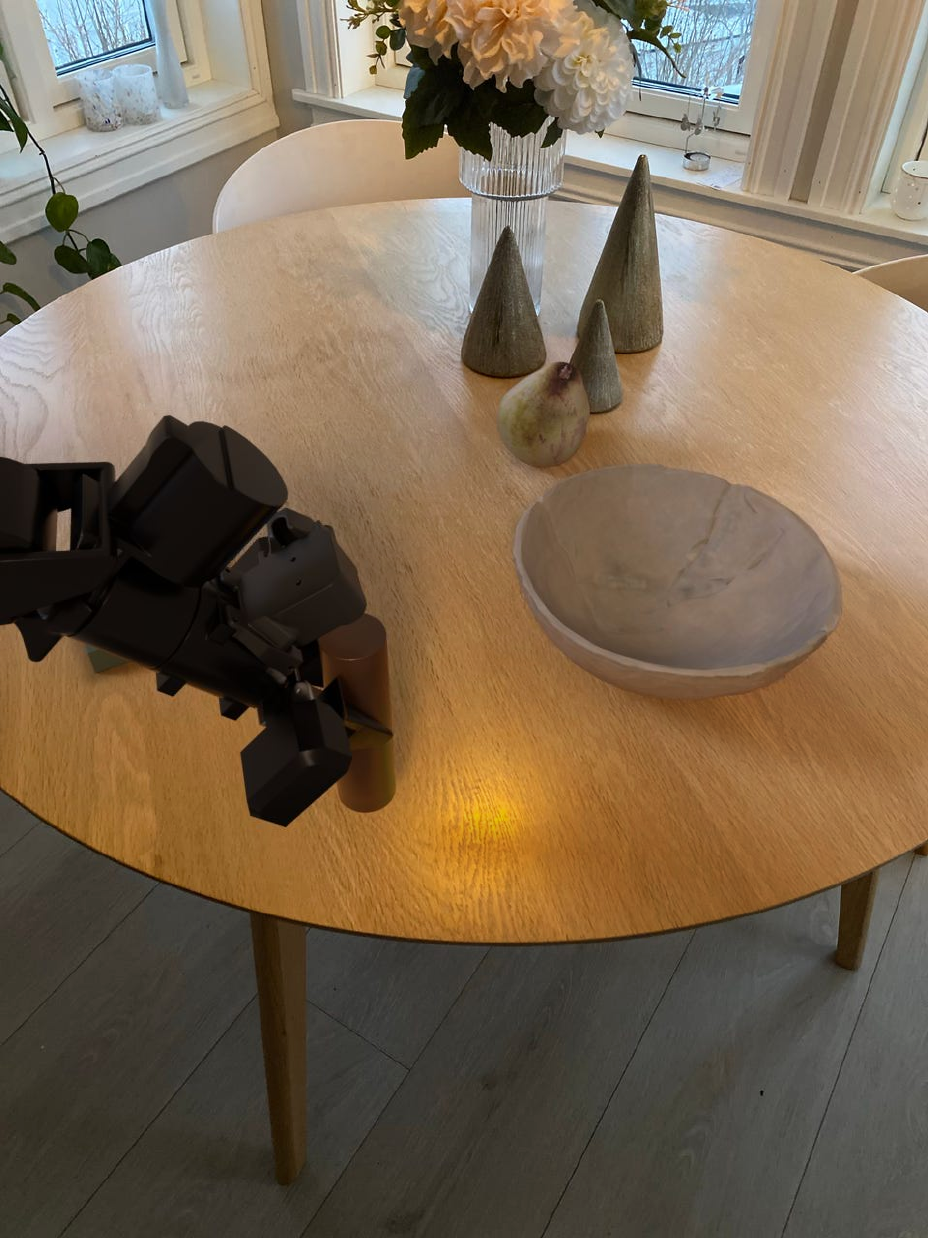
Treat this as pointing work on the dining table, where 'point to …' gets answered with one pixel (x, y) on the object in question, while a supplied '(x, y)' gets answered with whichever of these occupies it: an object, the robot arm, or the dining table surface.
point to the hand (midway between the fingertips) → (381, 713)
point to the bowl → (675, 581)
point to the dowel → (363, 707)
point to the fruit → (545, 415)
